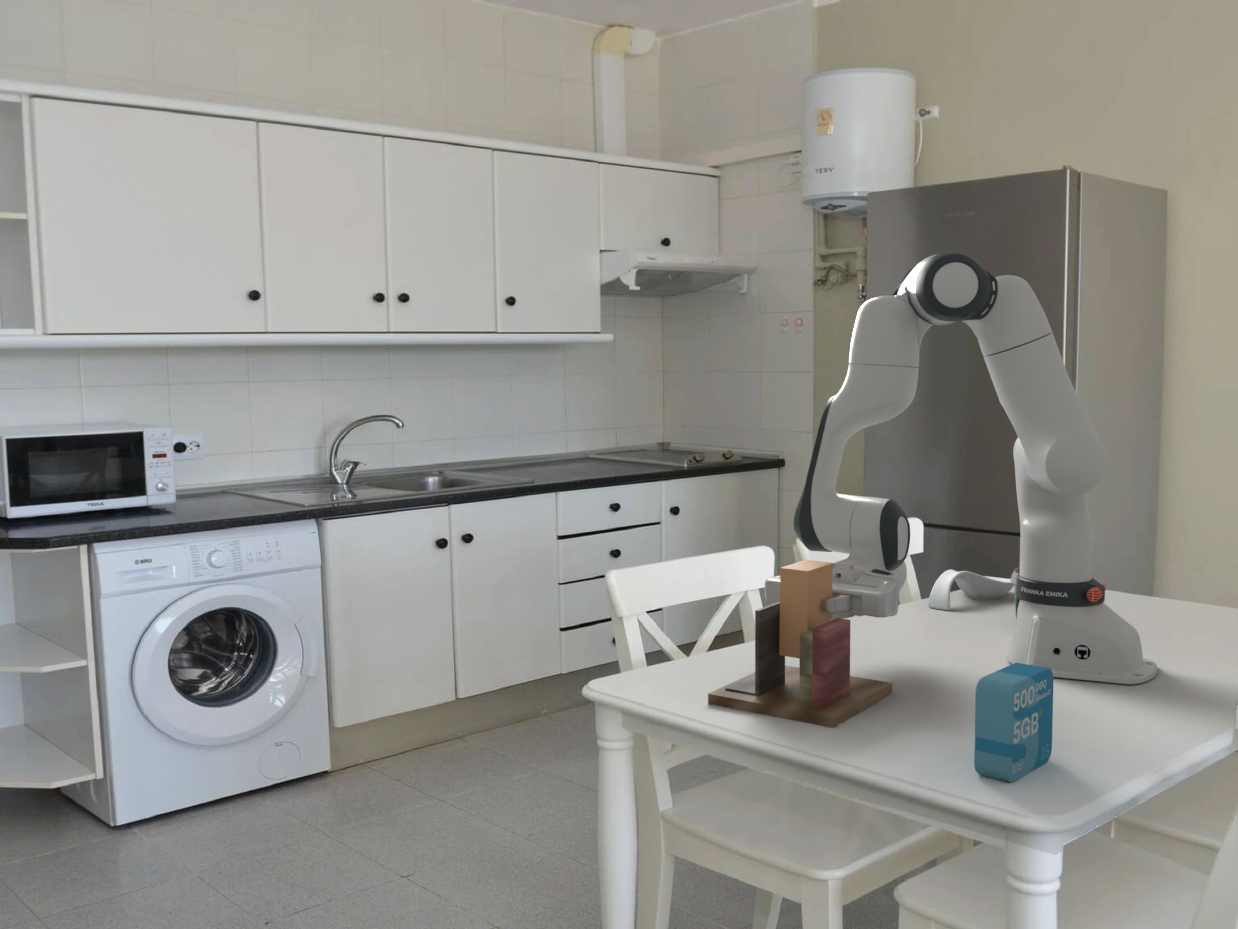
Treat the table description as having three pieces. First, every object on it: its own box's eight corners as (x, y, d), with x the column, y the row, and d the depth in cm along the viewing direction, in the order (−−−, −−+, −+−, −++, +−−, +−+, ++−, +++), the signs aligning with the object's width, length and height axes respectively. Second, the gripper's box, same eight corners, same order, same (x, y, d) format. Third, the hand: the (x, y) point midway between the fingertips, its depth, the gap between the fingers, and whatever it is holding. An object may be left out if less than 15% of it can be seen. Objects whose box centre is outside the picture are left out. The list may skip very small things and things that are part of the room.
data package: (1008, 786, 142) (1010, 686, 141) (973, 777, 145) (974, 679, 144) (1052, 760, 150) (1054, 666, 149) (1017, 752, 154) (1019, 659, 152)
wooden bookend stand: (892, 692, 180) (893, 600, 179) (833, 727, 164) (834, 626, 162) (773, 672, 192) (773, 586, 190) (708, 703, 175) (707, 609, 174)
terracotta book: (831, 648, 181) (832, 562, 179) (806, 659, 174) (808, 571, 173) (804, 644, 183) (805, 559, 182) (779, 655, 177) (780, 567, 175)
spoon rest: (972, 589, 256) (973, 555, 255) (1024, 596, 248) (1025, 562, 247) (912, 606, 239) (913, 571, 239) (966, 615, 231) (967, 578, 230)
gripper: (788, 561, 195) (745, 574, 184) (908, 575, 183) (870, 591, 172) (787, 599, 196) (745, 615, 184) (907, 616, 184) (869, 634, 173)
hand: (806, 603), depth 178 cm, fingers closed on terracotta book, 4 cm apart
